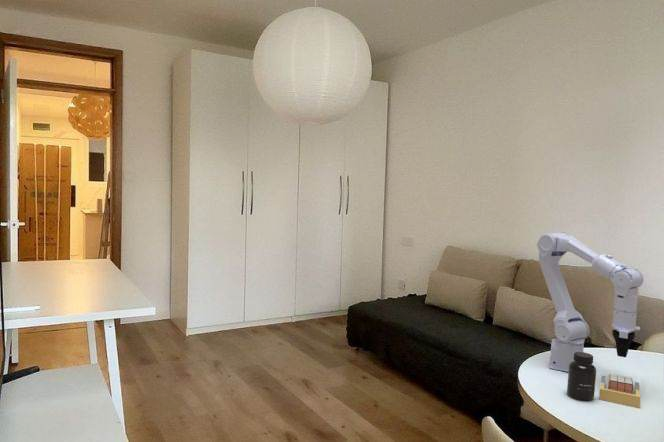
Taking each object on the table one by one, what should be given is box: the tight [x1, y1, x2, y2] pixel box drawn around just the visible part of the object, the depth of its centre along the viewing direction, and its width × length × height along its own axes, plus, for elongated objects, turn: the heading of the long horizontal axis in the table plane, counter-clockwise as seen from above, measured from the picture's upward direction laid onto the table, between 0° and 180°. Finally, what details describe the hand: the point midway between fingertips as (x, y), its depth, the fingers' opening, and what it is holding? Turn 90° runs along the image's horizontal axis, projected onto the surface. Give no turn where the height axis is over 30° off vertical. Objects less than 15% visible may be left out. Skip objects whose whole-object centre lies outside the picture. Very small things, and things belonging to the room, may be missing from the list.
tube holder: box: [598, 375, 641, 409], centre depth 139 cm, size 10×13×3 cm
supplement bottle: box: [566, 351, 597, 402], centre depth 137 cm, size 7×7×12 cm
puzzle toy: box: [607, 373, 634, 394], centre depth 137 cm, size 6×6×6 cm
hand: (621, 356), depth 144 cm, fingers closed
